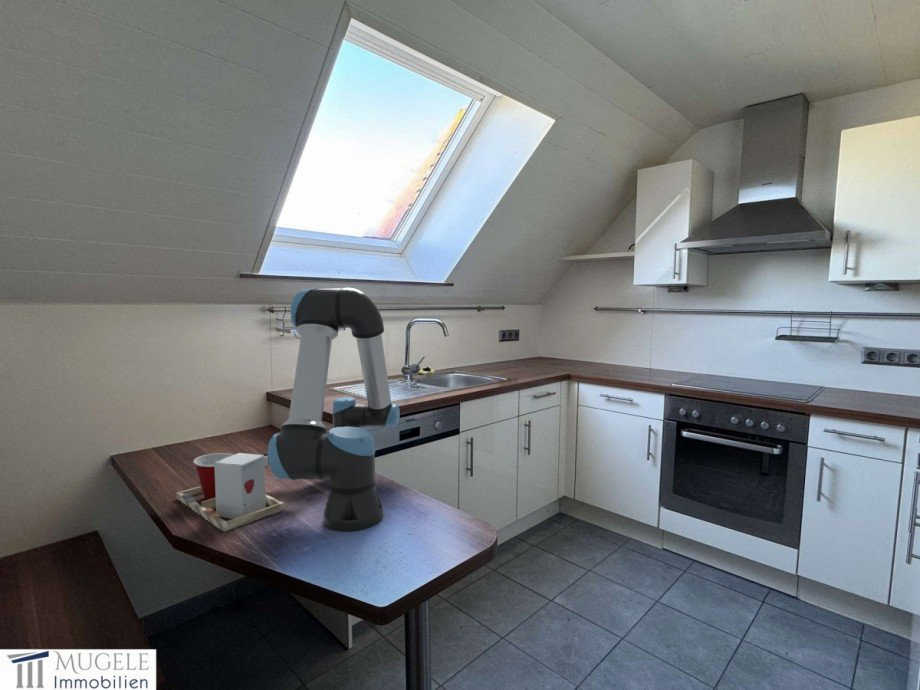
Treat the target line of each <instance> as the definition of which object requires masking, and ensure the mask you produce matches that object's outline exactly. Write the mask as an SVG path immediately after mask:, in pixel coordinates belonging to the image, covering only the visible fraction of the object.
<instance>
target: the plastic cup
mask: <svg viewBox="0 0 920 690" xmlns="http://www.w3.org/2000/svg"><path fill="white" fill-rule="evenodd" d="M233 455H234V454H231V453H227V452H226V453H225V452H224V453H223V452H217V453H215V452H214V453H208V454H203V455H199V456H197V457H196V458H194V460H193V464H194V465H195V468H196V471H197V475H198V479H199V482H200V486H201V487H202V490H203V493H202V495H203V497H204V501H205V500H209V499H212V498H215V497H216V492H215V467H214V463H215V462H217V461H220V460H222V459H225V458H227V457H230V456H233Z"/></svg>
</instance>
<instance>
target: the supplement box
mask: <svg viewBox="0 0 920 690" xmlns="http://www.w3.org/2000/svg"><path fill="white" fill-rule="evenodd" d="M232 455H233V456H230V457H227V458H225V459H222V460H220V461H217V462H215V463H214V467H215V492H216V510H215V511H216V512H217V513H219V514H220V518H222V519H223V518H225V519H229V520H232V519H234V518H237V517H240V516H243V515H246V514H249V513H252V512H255V511H258V510H261V509H263V508H267V506H266V505H267V504H266V499H265V494H266V480H265V479H266V477H265V476H266V475H265V466H264V454H253V453H245V452H243V453H242V452H238V453H236V454H232Z"/></svg>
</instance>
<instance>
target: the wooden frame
mask: <svg viewBox="0 0 920 690" xmlns="http://www.w3.org/2000/svg"><path fill="white" fill-rule="evenodd" d="M200 494H201V495H202V494H203V490H202V487H201V485H200V486H196V487H191V488H188V489H185V490H180V491H177V492H176V500H177V501H178V500H179V501H178V502H180V501H181V502H182V504H183V503H184V504H185V505H184V504H183V505H184V506H186V505H187V506H188V507H187V506H186V507H187V508H189V507H190V508H191V509H192V511H193V510H194V511H195V512H194V511H193V512H194V513H196V512H197V513H198V514H197V513H196V514H197V515H199V516H200V515H201V516H200V517H202V518H203V517H204V518H203V519H205V520H206V521H207V520H208V522H209V523H210V524H211V525H213V526H214V527H216V528H218V529H219V530H220V531H222V532H227V531H230V530H233V529H235V528H238V527H241V526H244V525H247V524H250V523H253V522H255V520H256V521H258V520H261V519H264V518H266V517H265V516H267V517H269V516H272V515H275V514H277V512H278V513H281V512H282V511H285V503H284V502H282V501H281V500H278V499H276V498H275V497H273V496H271V495H270V494H267V493H265V499H266V503H267V504H266V505H268V504H269V505H268V506H266V507H265V508H264V509H261V510H258V511H255V512H252V513H249V514H246V515H243V516H240V517H237V518H234V519H229V520H225V519H223V518H222V517H220V514H219V513H217V512H216V510H214V509H216V497H215V498H212V499H209V500H205V499H204V500H203V501H202V500H201V502H200V503H198V502H197V501H196V500H197V499H196V498H195V497H194V496H197V495H200ZM181 502H180V503H181ZM270 505H271V506H270ZM190 508H189V509H190ZM191 509H190V510H191ZM280 511H281V512H280ZM274 513H275V514H274ZM271 514H272V515H271ZM268 515H269V516H268ZM263 517H264V518H263ZM260 518H261V519H260ZM252 521H253V522H252Z"/></svg>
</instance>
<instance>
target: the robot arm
mask: <svg viewBox="0 0 920 690" xmlns="http://www.w3.org/2000/svg"><path fill="white" fill-rule="evenodd" d="M290 315H291V316H290V319H291V323H292V325H293V326H294V327H295V328H296V333H297V334H298V335H299V336H300V339H299V340H300V341H299V347H298V353H297V361H296V367H295V373H294V379H293V380H294V381H293V386H292V387H293V388H292V395H291V400H290V407H289V415H288V418H287V420H286V421H285V422H283V423H282V424H281V425H280V432H277V433H274V434H273V435H272V437H271V438H270V440H269V443H268V448H267V452H266V453H264V454H263V455H264V467H268V466H269V467H270V469H271V472H272V473H273V481H275V482H276V481H280V480H283V479H285V480H287V479H288V480H293V481H297V480H323V481H324V480H328V481H329V492H328V493H329V494H328V497H327V501H326V505H325V509H324V510H323V524H324V526H326V528H328V529H331V530H334V531H340V532H350V531H353V532H354V531H359V530H364V529H367V528H369V527H372V526H374V525H376V524H378V523H379V522H380V521H381V520H382V519H383V516H384V507H383V503H382V501H381V498H380V495H379V493H378V491H377V486H376V457H375V456H376V455H375V454H376V447H375V442H374V441H375V440H374V439H375V438H374V436H373V435H372V433H371V432H370V431H368V430H367V429H364V428H362V427H367V428H368V427H371V428H372V427H375V428H376V427H378V428H379V427H380V428H381V427H382V428H388V427H389V428H390V427H391V428H392V427H397V426H398V424H399V422H400V417H401V415H400V412H401V411H400V407H399V404H397V403H392V399H391V390H390V386H389V385H390V383H389V378H388V371H387V364H386V357H385V349H384V342H383V337H382V335H383V333H384V332H385V326H384V320H383V317H382V314H381V312H380V310H379V309H378V307H377V305H376V304H375V302H374V301H373V300H372V299H371V298H370V297H369V296H368V295H366V293H364V292H363V291H361V290H359V289H357V288H352V287H343V288H342V287H339V288H338V287H335V288H333V287H332V288H331V287H330V288H317V287H312V288H305V289H301V290H299V291H298V292H297V293H296V294H295V295H294V297H293V298H292V301H291V306H290ZM347 328H348V329H350V330H351V331H350V332H351V335H352V337H353V338H355V339H356V344H357V350H358V355H359V360H360V367H361V373H362V377H363V383H364V388H365V389H364V391H365V394H366V395H365V396H366V400H367V403H357V402H356V398H355V397H350V396H344V397H337V398H335V399H334V400H333V402H332V412H331V414H332V426H333V427H332V428H330V429H329V430H328V429H327V427H326V425H325V424H324V423H323V414H324V406H325V398H326V392H327V383H328V375H329V365H330V359H331V351H332V343H333V342H332V341H333V340H335V339H336V338H337V337H338V336H339V330H340V329H347ZM327 430H328V432H327ZM377 522H378V523H377Z"/></svg>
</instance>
